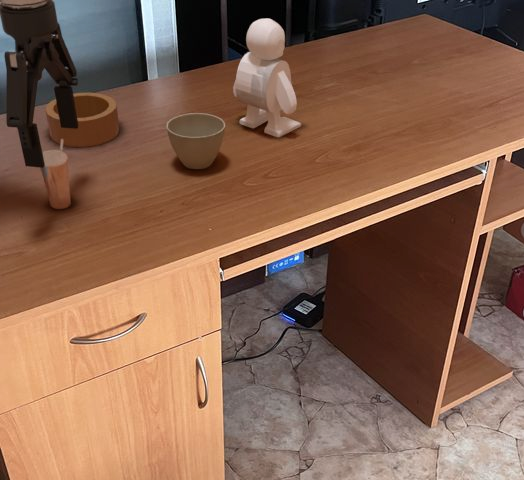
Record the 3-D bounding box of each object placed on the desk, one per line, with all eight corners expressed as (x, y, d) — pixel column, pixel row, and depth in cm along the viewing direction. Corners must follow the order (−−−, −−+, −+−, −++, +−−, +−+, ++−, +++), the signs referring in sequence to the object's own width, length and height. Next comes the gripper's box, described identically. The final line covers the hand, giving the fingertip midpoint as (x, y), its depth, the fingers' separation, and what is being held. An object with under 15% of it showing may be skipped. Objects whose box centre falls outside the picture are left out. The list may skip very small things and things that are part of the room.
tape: (39, 143, 144) (34, 117, 141) (65, 115, 154) (61, 90, 150) (105, 150, 142) (102, 123, 139) (128, 120, 152) (125, 95, 149)
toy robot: (309, 128, 149) (313, 20, 136) (280, 145, 144) (282, 33, 131) (252, 109, 156) (252, 4, 143) (223, 124, 151) (219, 16, 138)
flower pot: (225, 176, 135) (224, 137, 130) (167, 176, 135) (164, 137, 130) (226, 150, 142) (225, 112, 138) (171, 150, 142) (168, 112, 138)
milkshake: (83, 198, 129) (74, 141, 122) (64, 213, 125) (53, 155, 119) (60, 192, 130) (50, 136, 124) (40, 207, 126) (29, 150, 120)
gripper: (12, 32, 97) (43, 186, 111) (84, -23, 116) (104, 114, 130) (-44, 29, 99) (-6, 181, 112) (37, -26, 117) (61, 111, 131)
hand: (53, 145), depth 121 cm, fingers open, 13 cm apart
